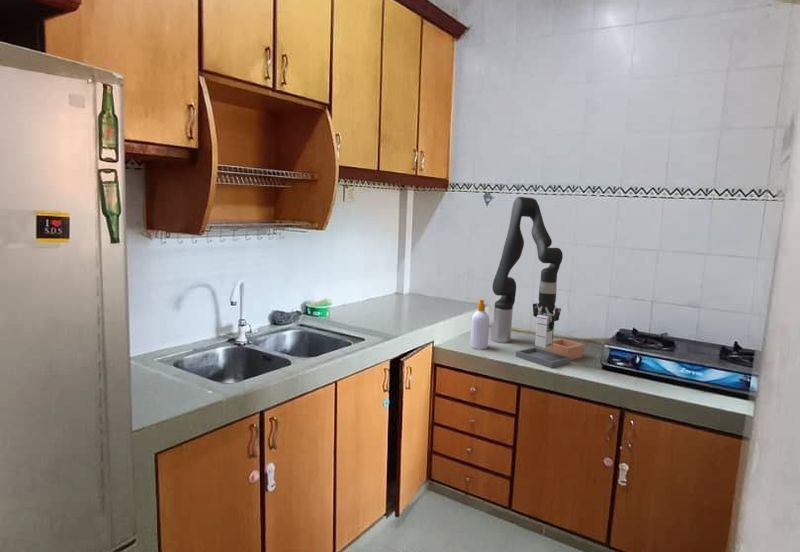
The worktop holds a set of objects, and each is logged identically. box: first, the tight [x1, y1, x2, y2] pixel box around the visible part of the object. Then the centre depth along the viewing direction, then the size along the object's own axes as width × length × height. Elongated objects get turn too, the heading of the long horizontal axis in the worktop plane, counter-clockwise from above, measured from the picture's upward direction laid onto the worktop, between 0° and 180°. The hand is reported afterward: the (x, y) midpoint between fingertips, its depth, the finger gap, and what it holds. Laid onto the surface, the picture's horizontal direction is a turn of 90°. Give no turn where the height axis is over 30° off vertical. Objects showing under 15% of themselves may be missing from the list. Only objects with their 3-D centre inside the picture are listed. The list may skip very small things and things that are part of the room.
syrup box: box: [534, 313, 555, 349], centre depth 238 cm, size 6×6×14 cm
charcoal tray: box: [515, 346, 572, 369], centre depth 240 cm, size 20×14×3 cm
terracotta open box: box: [544, 338, 585, 361], centre depth 248 cm, size 12×12×6 cm
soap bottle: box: [469, 297, 490, 350], centre depth 257 cm, size 9×9×24 cm
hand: (545, 327), depth 238 cm, fingers closed on syrup box, 6 cm apart
